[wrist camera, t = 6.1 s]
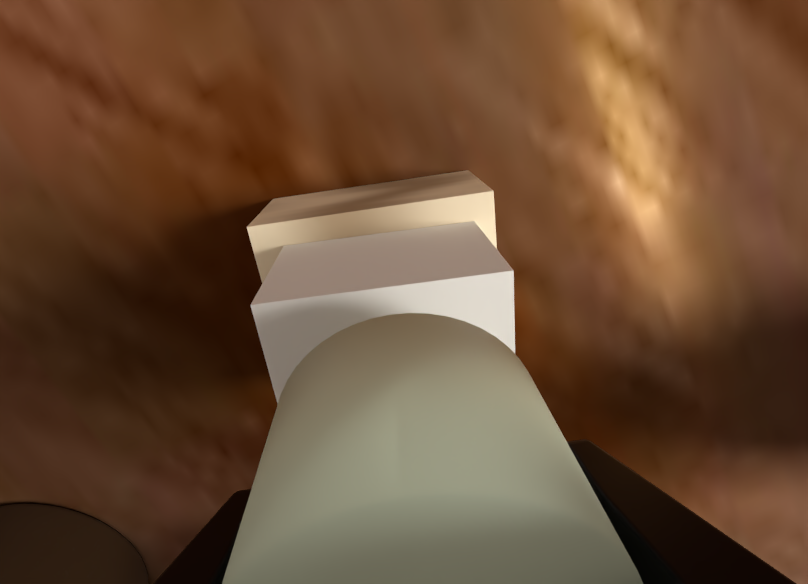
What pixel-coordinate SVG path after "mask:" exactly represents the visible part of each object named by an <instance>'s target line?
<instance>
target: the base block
mask: <svg viewBox="0 0 808 584" xmlns="http://www.w3.org/2000/svg"><path fill="white" fill-rule="evenodd" d="M472 221H475V223H476V224H477V225H478V226H479V228H480V229H481V230H482V231H483V233H484V234H485V235H486V236H487V238H488V239H489V240H490V242H491V243H492V244H493V245H494V247H495V248H496V249H497V245H496V227H495V208H494V191H493V190H492V189H491V188H489V187H488V186H487V185H486V184H484V183H483V182H482V181H481V180H480V179H478V178H477V177H476V176H475V175H473V174H472V173H471V172H470V171H469V170H467V171H460V172H453V173H446V174H439V175H432V176H426V177H419V178H412V179H405V180H398V181H391V182H385V183H378V184H371V185H364V186H357V187H350V188H344V189H337V190H330V191H323V192H316V193H309V194H303V195H296V196H289V197H282V198H275V199H272V200H271V202H270V203H269V204H268V205H267V206H266V207H265V208H264V209H263V210H262V211H261V212H260V213H259V214H258V215H257V216H256V218H255V219H254V220H253V221H252V222H251V223H250V224H249V225H248V226H247V231H248V234H249V238H250V241H251V245H252V249H253V252H254V256H255V259H256V263H257V267H258V270H259V274H260V277H261V281H262V283H263V282H264V280H265V278H266V276H267V275H268V273H269V271H270V269H271V268H272V266H273V264H274V262H275V260H276V259H277V257H278V255H279V253H280V252H281V250H282V248H283V246H286V245H294V244H302V243H309V242H317V241H325V240H333V239H340V238H348V237H356V236H363V235H371V234H379V233H387V232H394V231H402V230H410V229H418V228H425V227H433V226H441V225H448V224H456V223H464V222H472Z"/></svg>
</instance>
